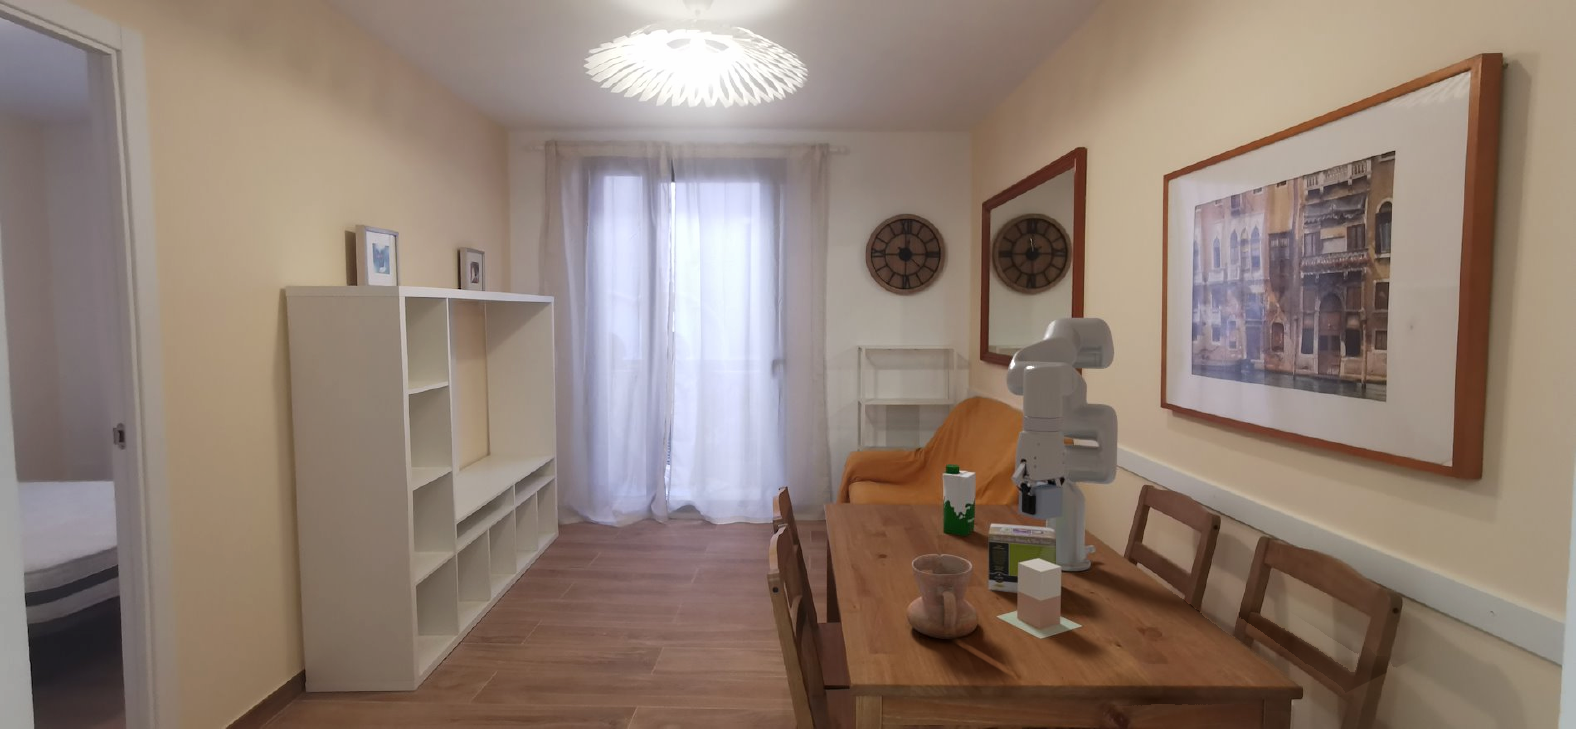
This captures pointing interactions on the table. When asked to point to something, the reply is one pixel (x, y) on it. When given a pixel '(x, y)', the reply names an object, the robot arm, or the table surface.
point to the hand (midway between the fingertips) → (1040, 510)
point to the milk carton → (958, 501)
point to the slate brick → (1046, 501)
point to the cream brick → (1039, 579)
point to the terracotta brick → (1038, 611)
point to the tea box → (1016, 552)
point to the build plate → (1041, 633)
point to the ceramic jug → (942, 597)
